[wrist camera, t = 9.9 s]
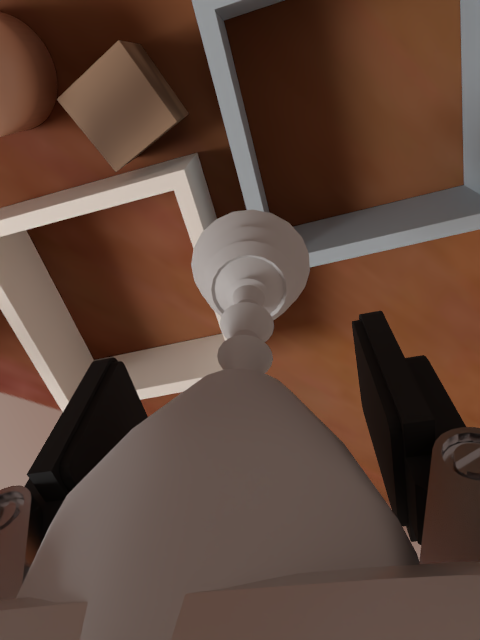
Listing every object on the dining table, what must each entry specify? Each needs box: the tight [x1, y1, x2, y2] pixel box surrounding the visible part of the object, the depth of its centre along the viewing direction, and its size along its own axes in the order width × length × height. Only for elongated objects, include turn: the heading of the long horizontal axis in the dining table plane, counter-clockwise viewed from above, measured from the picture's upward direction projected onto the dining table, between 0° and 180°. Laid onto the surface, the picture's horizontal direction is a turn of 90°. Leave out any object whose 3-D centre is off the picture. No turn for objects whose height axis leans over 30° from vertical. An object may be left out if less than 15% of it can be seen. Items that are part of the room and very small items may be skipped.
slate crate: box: [192, 0, 480, 267], centre depth 27 cm, size 16×16×6 cm
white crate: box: [0, 153, 227, 412], centre depth 34 cm, size 16×16×6 cm
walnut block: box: [57, 40, 189, 172], centre depth 28 cm, size 5×5×5 cm
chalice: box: [16, 210, 419, 640], centre depth 11 cm, size 7×7×18 cm
